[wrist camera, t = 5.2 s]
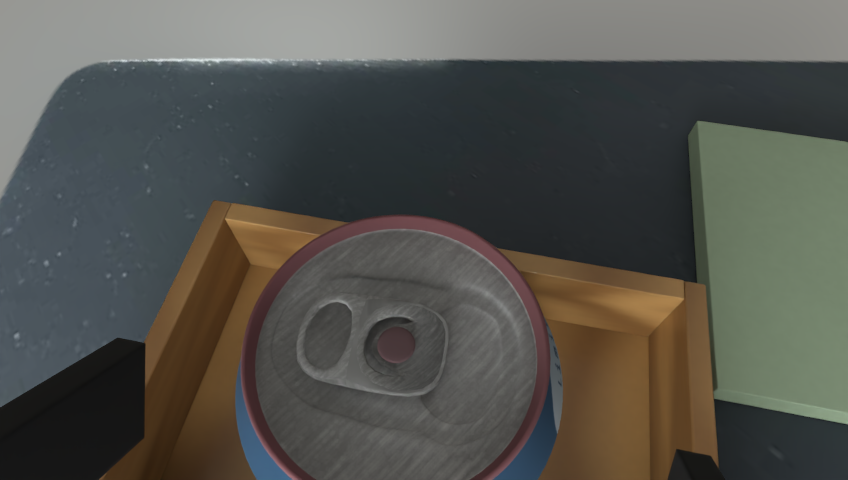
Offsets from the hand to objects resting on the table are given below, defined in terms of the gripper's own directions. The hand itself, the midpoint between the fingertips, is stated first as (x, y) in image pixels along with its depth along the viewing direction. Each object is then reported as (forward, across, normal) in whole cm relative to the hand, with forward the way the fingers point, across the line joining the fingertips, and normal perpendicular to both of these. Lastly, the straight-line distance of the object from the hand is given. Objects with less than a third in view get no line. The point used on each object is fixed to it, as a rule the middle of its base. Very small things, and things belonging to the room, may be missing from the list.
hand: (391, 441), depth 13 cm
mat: (+14, +19, +3) cm, 24 cm away
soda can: (+6, 0, -5) cm, 8 cm away
